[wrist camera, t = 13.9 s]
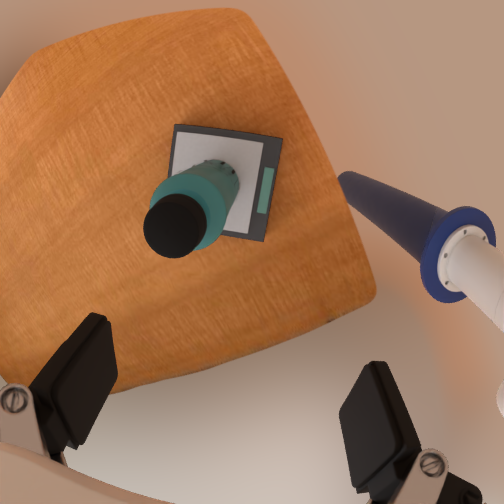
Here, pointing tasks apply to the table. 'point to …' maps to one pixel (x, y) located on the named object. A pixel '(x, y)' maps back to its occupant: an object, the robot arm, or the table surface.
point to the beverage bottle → (191, 208)
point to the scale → (244, 162)
